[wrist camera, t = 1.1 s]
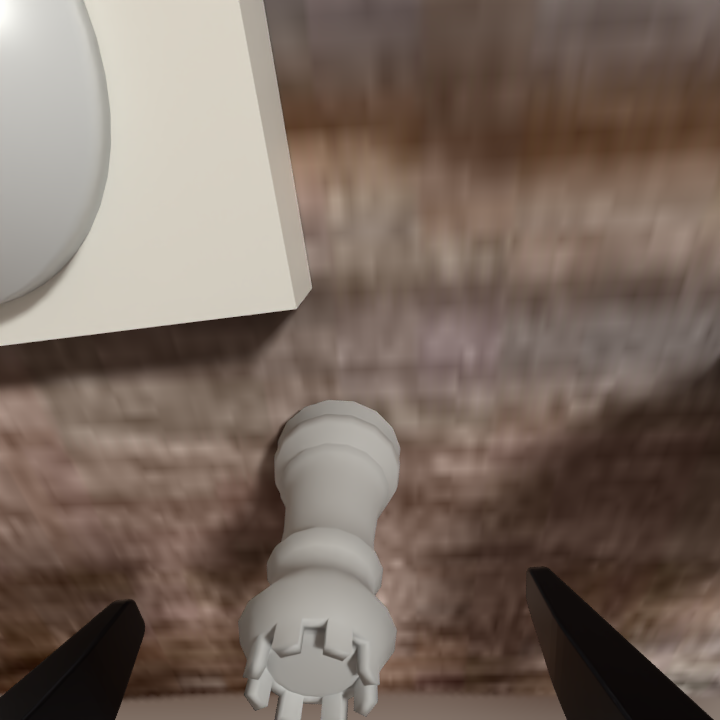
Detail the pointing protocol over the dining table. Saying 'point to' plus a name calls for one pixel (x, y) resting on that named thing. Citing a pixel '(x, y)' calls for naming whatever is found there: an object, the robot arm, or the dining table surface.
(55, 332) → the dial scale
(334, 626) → the rook chess piece
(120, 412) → the dining table surface
